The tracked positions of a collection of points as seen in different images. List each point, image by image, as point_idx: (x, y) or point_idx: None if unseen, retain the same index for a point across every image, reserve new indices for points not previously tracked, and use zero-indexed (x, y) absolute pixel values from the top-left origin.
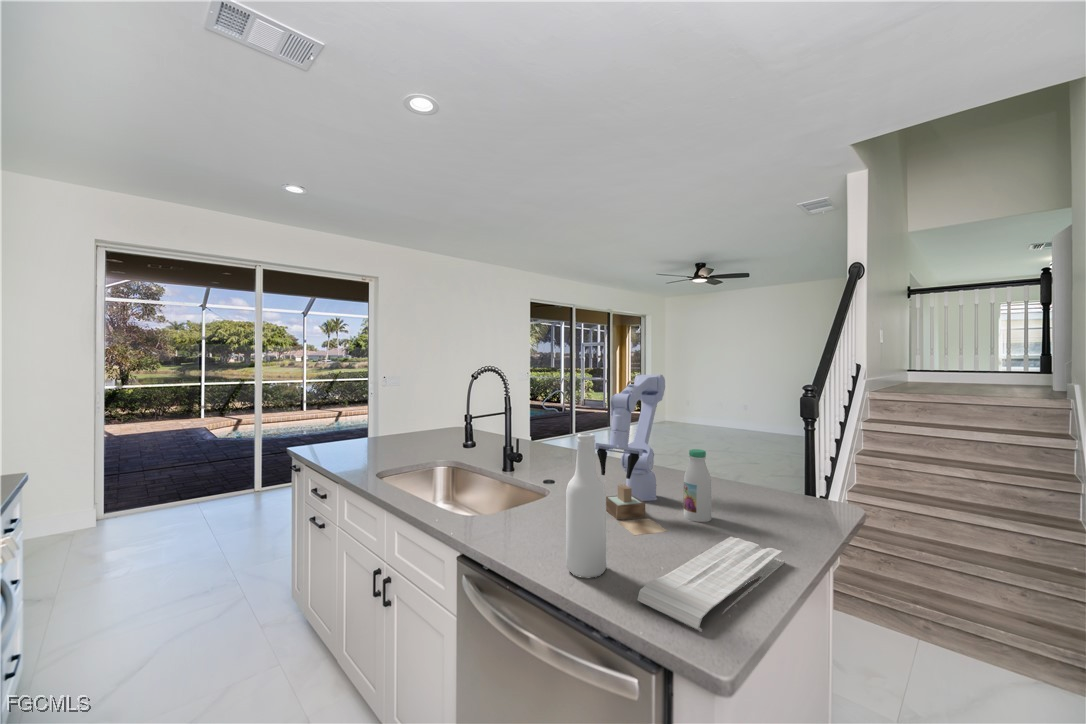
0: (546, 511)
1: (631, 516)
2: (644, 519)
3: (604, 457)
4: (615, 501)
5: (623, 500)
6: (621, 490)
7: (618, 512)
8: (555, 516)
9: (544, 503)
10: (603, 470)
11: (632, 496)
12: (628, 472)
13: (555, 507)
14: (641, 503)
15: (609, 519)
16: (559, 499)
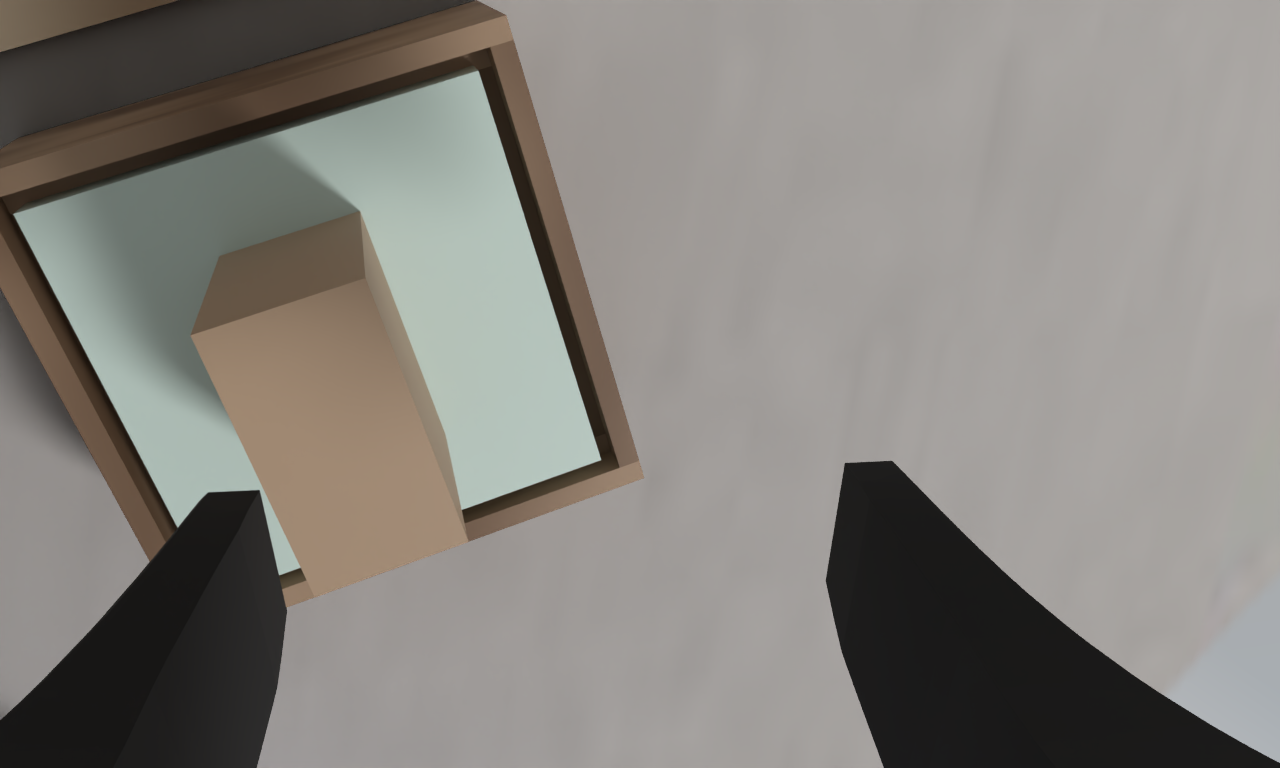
0: (1254, 316)
1: (248, 71)
2: (34, 19)
3: (1124, 759)
4: (504, 260)
5: (370, 241)
6: (406, 368)
7: (470, 13)
8: (1203, 156)
9: (1215, 560)
10: (929, 514)
11: None
12: (223, 611)
13: (1137, 451)
14: (26, 168)
15: (578, 63)
16: None
